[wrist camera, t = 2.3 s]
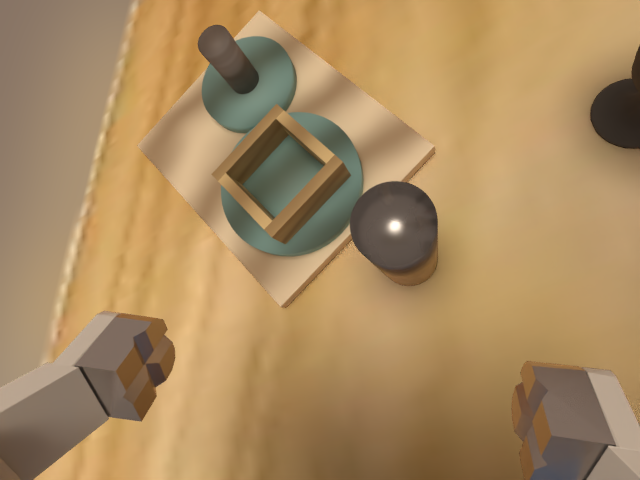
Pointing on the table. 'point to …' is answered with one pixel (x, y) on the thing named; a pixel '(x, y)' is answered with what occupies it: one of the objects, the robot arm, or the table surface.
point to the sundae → (619, 110)
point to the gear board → (278, 152)
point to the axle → (397, 231)
